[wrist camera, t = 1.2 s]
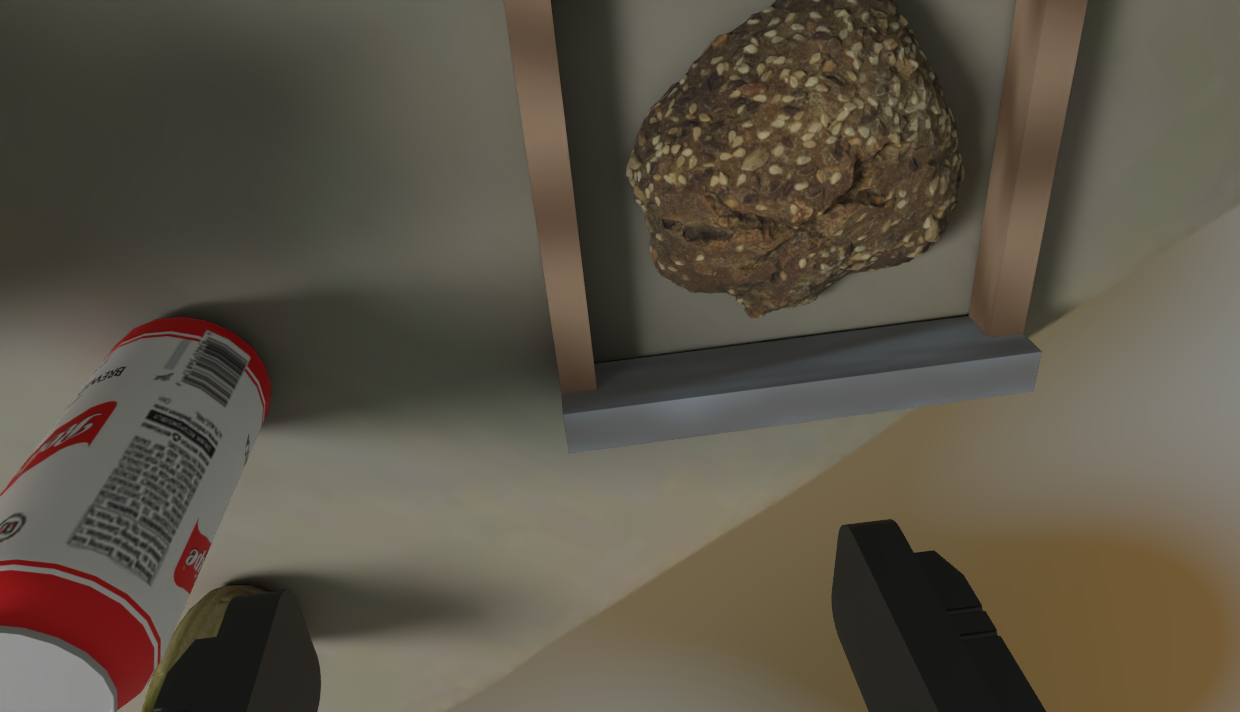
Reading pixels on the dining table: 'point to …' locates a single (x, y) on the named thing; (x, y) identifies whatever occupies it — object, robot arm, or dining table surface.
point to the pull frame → (823, 364)
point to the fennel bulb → (194, 632)
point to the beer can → (122, 514)
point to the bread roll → (797, 155)
